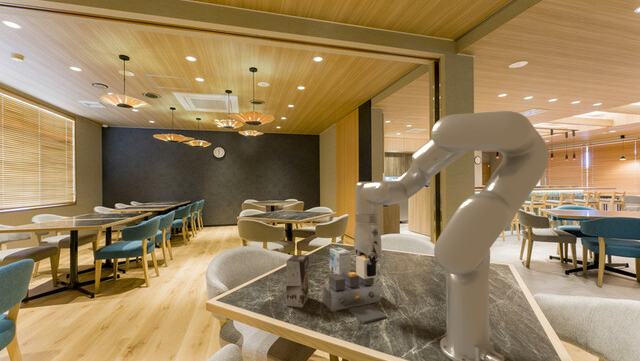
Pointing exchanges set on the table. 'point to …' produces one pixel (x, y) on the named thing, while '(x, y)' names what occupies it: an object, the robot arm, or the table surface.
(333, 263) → the light bulb box
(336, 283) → the toggle left
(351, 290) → the breaker console
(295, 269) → the coffee box
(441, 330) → the table surface
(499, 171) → the robot arm
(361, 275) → the cap
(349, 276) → the toggle mid
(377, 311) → the pad
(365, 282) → the toggle right
